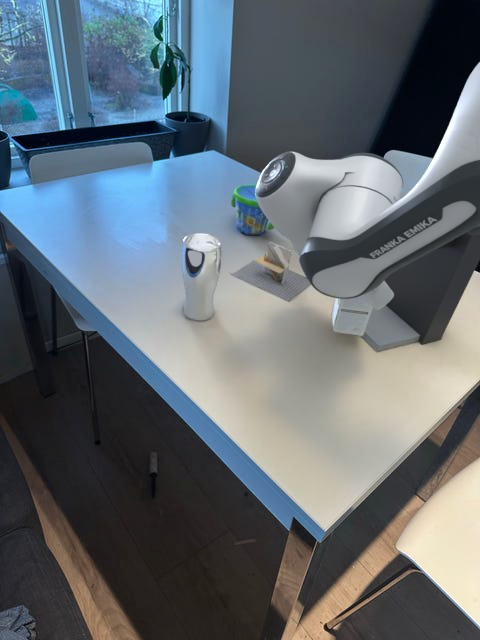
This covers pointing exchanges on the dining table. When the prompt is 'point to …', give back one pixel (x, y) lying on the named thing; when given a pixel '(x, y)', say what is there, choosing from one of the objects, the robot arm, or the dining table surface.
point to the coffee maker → (424, 295)
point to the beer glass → (200, 274)
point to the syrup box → (351, 315)
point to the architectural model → (274, 274)
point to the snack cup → (249, 211)
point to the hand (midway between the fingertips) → (360, 286)
